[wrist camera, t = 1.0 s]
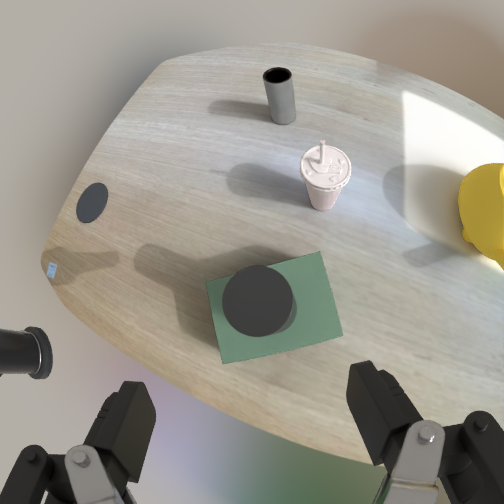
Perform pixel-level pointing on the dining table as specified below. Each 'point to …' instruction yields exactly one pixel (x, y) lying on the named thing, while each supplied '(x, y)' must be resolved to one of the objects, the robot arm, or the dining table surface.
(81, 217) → the coaster
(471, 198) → the teapot
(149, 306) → the dining table surface
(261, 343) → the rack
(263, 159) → the dining table surface
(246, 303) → the dark grey cylinder
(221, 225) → the dining table surface
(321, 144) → the smoothie
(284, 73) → the planter
